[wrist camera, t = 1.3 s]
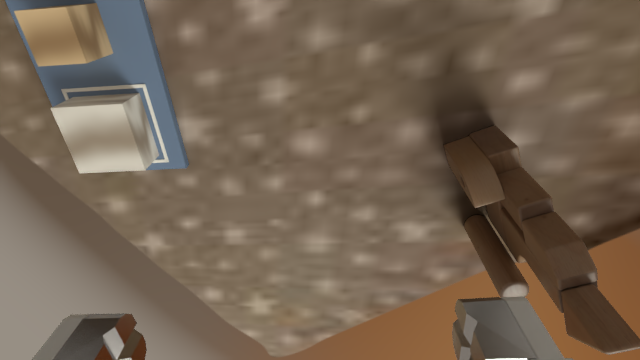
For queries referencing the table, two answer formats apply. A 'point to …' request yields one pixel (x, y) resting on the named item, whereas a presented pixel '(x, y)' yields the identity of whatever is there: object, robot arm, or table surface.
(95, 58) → the oak cube
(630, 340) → the wooden toy
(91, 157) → the base block
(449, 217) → the table surface
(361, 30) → the table surface
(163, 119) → the board
